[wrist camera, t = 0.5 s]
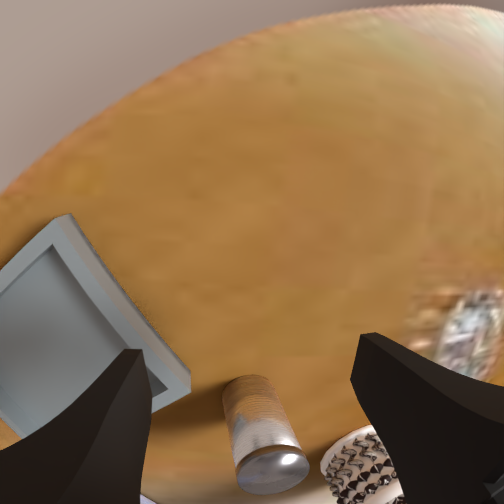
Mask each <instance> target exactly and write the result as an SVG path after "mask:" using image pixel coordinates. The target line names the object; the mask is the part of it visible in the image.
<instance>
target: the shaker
mask: <svg viewBox="0 0 504 504" xmlns="http://www.w3.org/2000/svg"><path fill="white" fill-rule="evenodd" d="M222 402H223V407H224V413H225V418H226V423H227V428H228V433H229V438H230V443H231V448H232V453H233V458H234V463H235V467H236V476H237V481H238V485H239V486H240V488H241V489H242V490H244V491H246V492H248V493H251V494H256V495H270V494H276V493H280V492H283V491H286V490H288V489H290V488H292V487H294V486H296V485H297V484H299V483H300V482H301V481H302V480H304V478H305V477H306V476H307V474H308V472H309V469H310V466H309V463H308V460H307V458H306V456H305V454H304V452H303V451H302V449H301V447H300V445H299V443H298V441H297V438H296V436H295V434H294V432H293V429H292V427H291V425H290V423H289V420H288V418H287V416H286V414H285V411H284V409H283V407H282V404H281V402H280V400H279V398H278V395H277V393H276V391H275V388H274V386H273V384H272V383H271V382H270V381H269V380H268V379H266V378H264V377H262V376H258V375H246V376H242V377H239V378H237V379H235V380H233V381H232V382H230V383H229V384H228V385H227V386H226V387H225V389H224V391H223V394H222Z"/></svg>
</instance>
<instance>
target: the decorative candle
mask: <svg viewBox="0 0 504 504" xmlns="http://www.w3.org/2000/svg"><path fill="white" fill-rule="evenodd" d="M320 468H321V472H322V473H323V474H324V475H325V477H324V479H325V480H329V481H328V482H327V485H329V486H331V487H330V491H334V492H333V493H332V495H333V496H335V497H338V498H339V499H338V500H337V504H406V501H405V497H404V494H403V491H402V488H401V485H400V483H399V480H398V477H397V474H396V472H395V469H394V467H393V464H392V462H391V459H390V457H389V455H388V453H387V451H386V449H385V447H384V445H383V444H382V442H381V440H380V438H379V437H378V435H377V433H376V431H375V430H374V428H373V426H372V425H367V426H364V427H362V428H359V429H357V430H354V431H352V432H350V433H349V434H347V435H346V436H344V437H343V438H341V439H339V440H338V441H337V442H336V443H335V444H334V445H333V446H332V447H331V448H330V449H328V450H327V451H326V453H325V455H324V457H323V458H322V460H321V462H320Z"/></svg>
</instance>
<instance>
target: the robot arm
mask: <svg viewBox="0 0 504 504" xmlns="http://www.w3.org/2000/svg"><path fill="white" fill-rule="evenodd" d="M350 381H351V383H352V386H353V389H354V391H355V394H356V396H357V399H358V401H359V403H360V405H361V407H362V409H363V411H364V412H365V414H366V416H367V418H368V419H369V421H370V423H371V425H372V426H373V428H374V430H375V431H376V433H377V435H378V437H379V438H380V440H381V442H382V444H383V445H384V447H385V449H386V451H387V453H388V455H389V457H390V459H391V462H392V464H393V467H394V469H395V472H396V474H397V477H398V480H399V483H400V485H401V488H402V491H403V494H404V497H405V501H406V504H504V387H503V386H498V385H494V384H490V383H486V382H482V381H479V380H476V379H473V378H470V377H467V376H464V375H462V374H459V373H456V372H454V371H452V370H449V369H447V368H445V367H443V366H441V365H438V364H436V363H434V362H432V361H430V360H428V359H426V358H424V357H422V356H420V355H419V354H417V353H415V352H413V351H411V350H409V349H407V348H406V347H404V346H402V345H400V344H398V343H396V342H395V341H393V340H391V339H389V338H387V337H385V336H383V335H381V334H378V333H376V332H374V333H367V334H360V339H359V343H358V348H357V352H356V357H355V361H354V365H353V370H352V374H351V378H350ZM151 414H152V391H151V387H150V383H149V378H148V374H147V369H146V365H145V360H144V355H143V350H142V349H123V351H122V352H121V353H120V354H119V355H118V356H117V357H116V358H115V359H114V360H113V361H112V362H111V364H110V365H109V366H108V367H107V368H106V369H105V370H104V371H103V372H102V373H101V375H100V376H99V377H98V378H97V379H96V380H95V381H94V382H93V383H92V384H91V385H90V386H89V387H88V388H87V389H86V390H85V391H84V392H83V393H82V394H81V395H80V396H79V397H78V398H77V399H76V400H75V401H74V402H73V403H72V404H71V405H69V406H68V407H67V408H66V409H65V410H64V411H62V412H61V413H60V414H59V415H57V416H56V417H55V418H53V419H52V420H51V421H50V422H48V423H47V424H45V425H44V426H43V427H41V428H39V429H38V430H36V431H35V432H33V433H32V434H30V435H28V436H27V437H25V438H24V439H22V440H20V441H18V442H17V443H15V444H13V445H11V446H9V447H7V448H5V449H3V450H0V504H156V503H154V502H153V501H151V500H149V499H148V498H146V497H144V496H143V495H141V494H140V490H141V478H142V471H143V465H144V459H145V453H146V447H147V442H148V436H149V430H150V424H151Z"/></svg>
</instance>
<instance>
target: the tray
mask: <svg viewBox="0 0 504 504" xmlns="http://www.w3.org/2000/svg"><path fill="white" fill-rule="evenodd" d="M123 349H142V350H143V355H144V360H145V365H146V369H147V374H148V378H149V383H150V387H151V391H152V413H153V412H155V411H157V410H159V409H161V408H163V407H165V406H167V405H169V404H171V403H172V402H174V401H176V400H178V399H180V398H182V397H183V396H185V395H187V394H189V393H191V375H190V370H189V369H188V368H187V367H186V365H185V364H184V363H183V362H182V361H181V360H180V359H179V358H178V356H177V355H176V354H175V353H174V352H173V351H172V350H171V348H170V347H169V346H168V345H167V344H166V343H165V341H164V340H163V339H162V338H161V337H160V335H159V334H158V333H157V332H156V331H155V329H154V328H153V327H152V326H151V324H150V323H149V322H148V321H147V320H146V318H145V317H144V316H143V315H142V313H141V312H140V311H139V309H138V308H137V307H136V306H135V304H134V303H133V302H132V300H131V299H130V298H129V297H128V295H127V294H126V293H125V291H124V290H123V289H122V287H121V286H120V285H119V283H118V282H117V281H116V279H115V278H114V276H113V275H112V274H111V272H110V271H109V269H108V268H107V267H106V265H105V264H104V262H103V261H102V260H101V258H100V257H99V255H98V254H97V252H96V251H95V249H94V248H93V246H92V245H91V244H90V242H89V241H88V239H87V238H86V236H85V234H84V233H83V231H82V230H81V228H80V227H79V225H78V224H77V222H76V221H75V219H74V217H73V216H72V214H71V213H70V214H67V215H64V216H60V217H57V218H55V219H53V220H52V221H51V222H50V223H49V224H48V225H47V226H46V227H45V228H43V229H42V230H41V231H40V232H39V233H38V234H37V235H36V236H35V237H34V238H33V239H32V240H31V241H29V242H28V243H27V244H26V245H25V246H24V247H23V248H22V249H21V250H20V251H19V252H18V253H17V254H16V255H15V256H14V257H13V258H12V259H11V260H10V261H9V262H8V263H7V264H6V265H5V266H4V267H3V268H2V270H1V271H0V418H1V419H2V420H3V421H4V422H5V423H6V424H7V425H8V426H9V427H10V428H11V429H12V430H13V431H14V432H15V433H16V434H17V435H18V436H20V437H21V438H22V439H24V438H25V437H27V436H28V435H30V434H32V433H33V432H35V431H36V430H38V429H39V428H41V427H43V426H44V425H45V424H47V423H48V422H50V421H51V420H52V419H53V418H55V417H56V416H57V415H59V414H60V413H61V412H62V411H64V410H65V409H66V408H67V407H68V406H69V405H71V404H72V403H73V402H74V401H75V400H76V399H77V398H78V397H79V396H80V395H81V394H82V393H83V392H84V391H85V390H86V389H87V388H88V387H89V386H90V385H91V384H92V383H93V382H94V381H95V380H96V379H97V378H98V377H99V376H100V375H101V373H102V372H103V371H104V370H105V369H106V368H107V367H108V366H109V365H110V364H111V362H112V361H113V360H114V359H115V358H116V357H117V356H118V355H119V354H120V353H121V352H122V351H123Z"/></svg>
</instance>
